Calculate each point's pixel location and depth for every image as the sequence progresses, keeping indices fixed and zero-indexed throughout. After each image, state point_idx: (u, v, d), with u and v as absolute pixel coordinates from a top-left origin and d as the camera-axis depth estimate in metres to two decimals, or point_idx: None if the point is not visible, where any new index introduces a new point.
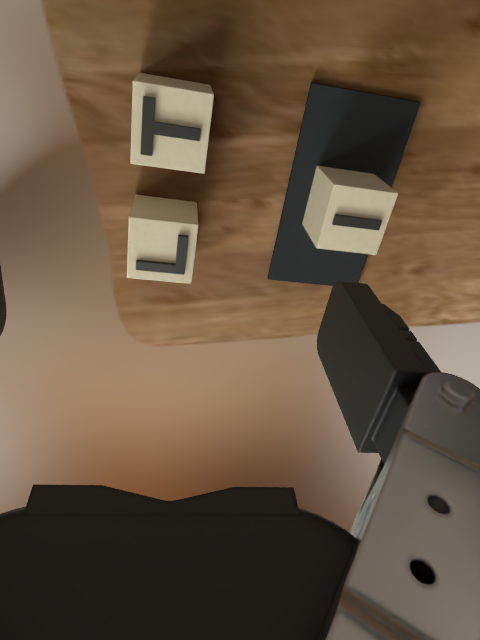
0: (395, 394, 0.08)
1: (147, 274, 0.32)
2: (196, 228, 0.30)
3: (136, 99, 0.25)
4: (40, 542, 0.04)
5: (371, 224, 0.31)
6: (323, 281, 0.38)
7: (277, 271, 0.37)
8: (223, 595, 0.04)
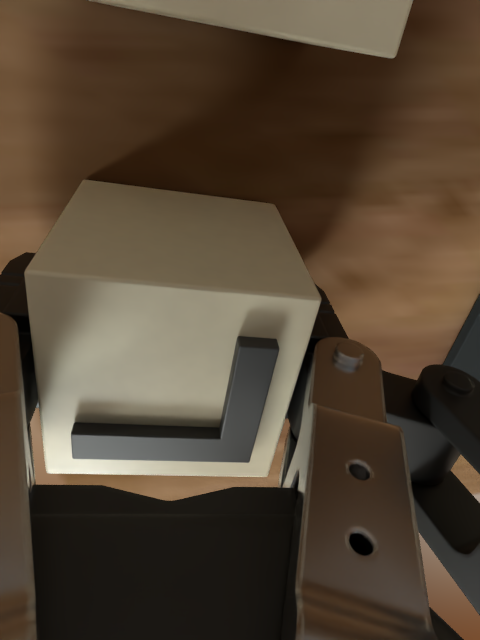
0: None
1: (119, 462, 0.09)
2: (312, 313, 0.07)
3: None
4: (40, 542, 0.04)
5: None
6: None
7: None
8: (223, 595, 0.04)
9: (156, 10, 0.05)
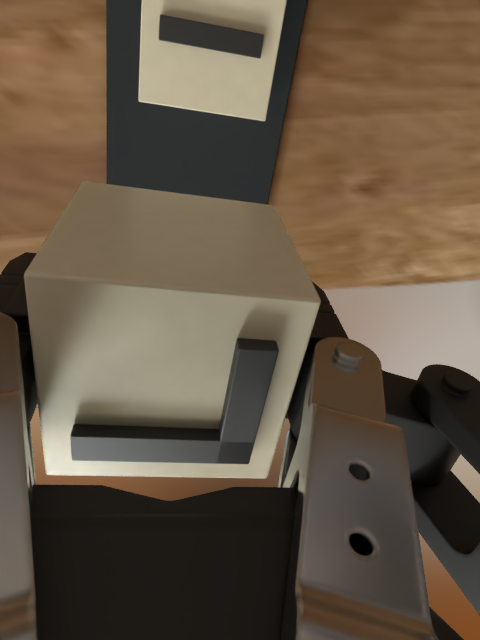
0: None
1: (119, 464, 0.09)
2: (312, 315, 0.07)
3: None
4: (40, 542, 0.04)
5: (241, 41, 0.15)
6: None
7: (120, 182, 0.22)
8: (223, 595, 0.04)
9: None
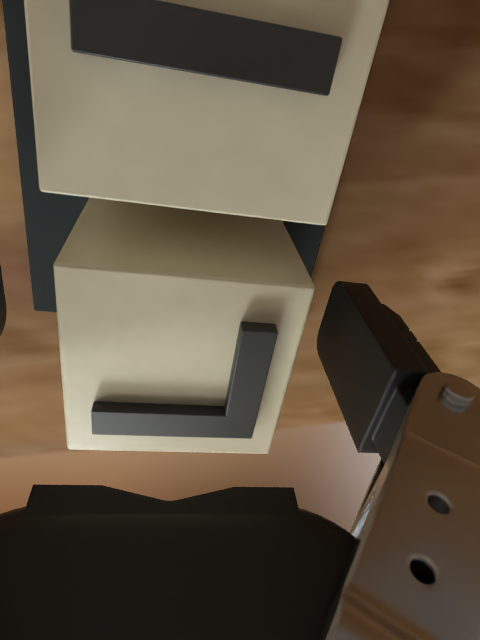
0: (395, 394, 0.08)
1: (133, 439, 0.10)
2: (307, 300, 0.08)
3: None
4: (40, 542, 0.04)
5: (286, 55, 0.06)
6: None
7: None
8: (223, 595, 0.04)
9: None
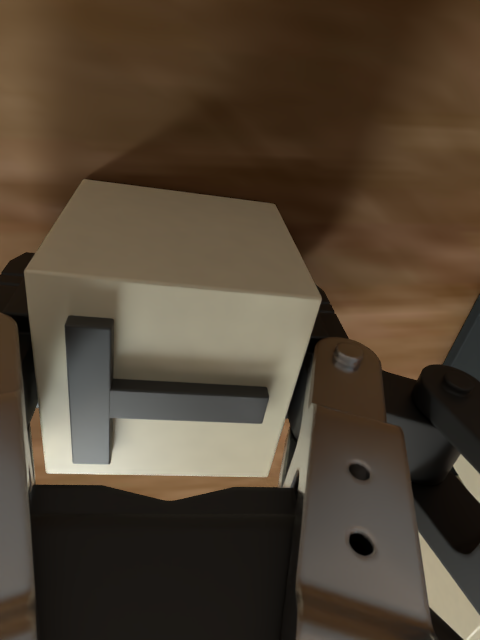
0: None
1: None
2: None
3: (46, 326, 0.07)
4: (40, 542, 0.04)
5: None
6: None
7: None
8: (223, 595, 0.04)
9: None
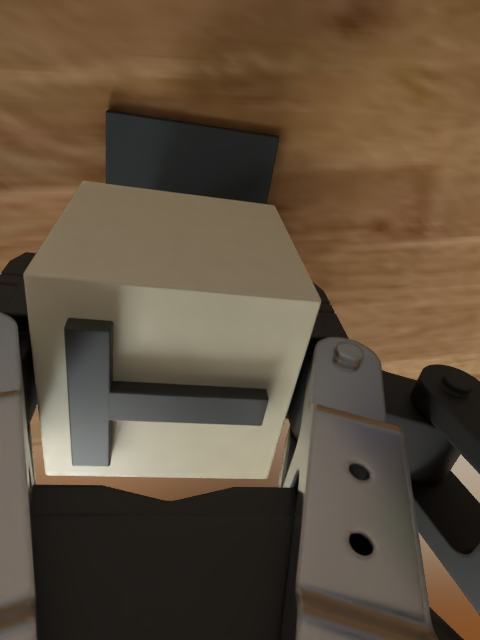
0: None
1: None
2: None
3: (45, 328, 0.07)
4: (40, 542, 0.04)
5: None
6: None
7: None
8: (223, 595, 0.04)
9: None
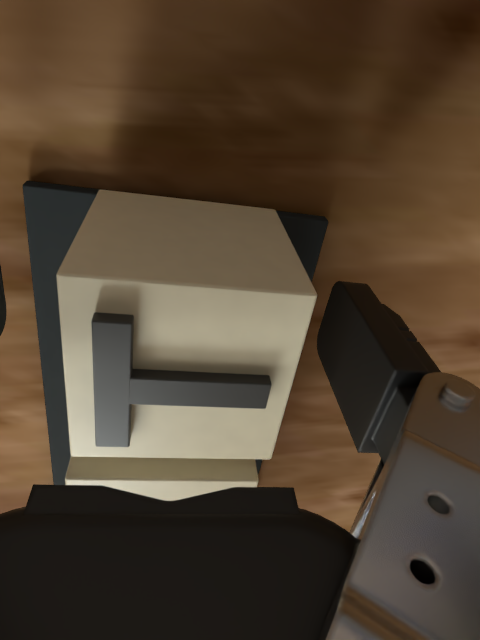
0: (396, 394, 0.08)
1: None
2: None
3: (75, 322, 0.08)
4: (40, 542, 0.04)
5: None
6: None
7: None
8: (223, 595, 0.04)
9: (148, 457, 0.10)
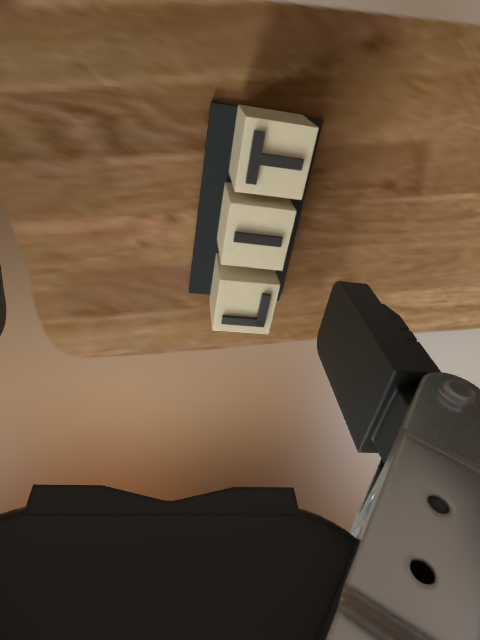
0: (395, 394, 0.08)
1: (230, 327, 0.35)
2: (278, 288, 0.33)
3: (247, 133, 0.27)
4: (40, 542, 0.04)
5: (272, 241, 0.31)
6: None
7: (197, 285, 0.38)
8: (223, 595, 0.04)
9: (259, 194, 0.29)
